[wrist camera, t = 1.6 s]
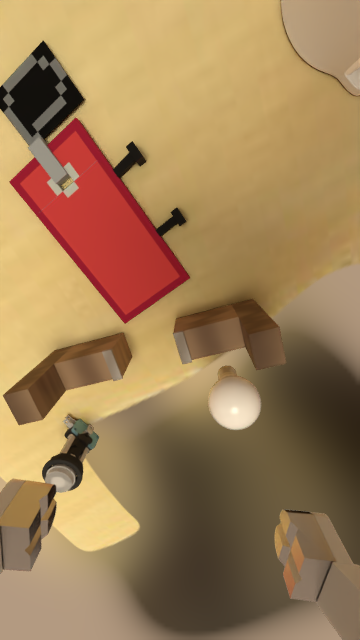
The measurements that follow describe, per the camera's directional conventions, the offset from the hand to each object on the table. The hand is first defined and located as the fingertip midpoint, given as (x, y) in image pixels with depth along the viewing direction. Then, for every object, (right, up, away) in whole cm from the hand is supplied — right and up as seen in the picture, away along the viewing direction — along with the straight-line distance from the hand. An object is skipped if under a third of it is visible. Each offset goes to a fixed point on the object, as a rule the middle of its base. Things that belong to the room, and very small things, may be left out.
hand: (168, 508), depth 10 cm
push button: (-16, -11, +36) cm, 40 cm away
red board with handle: (-10, +22, +26) cm, 35 cm away
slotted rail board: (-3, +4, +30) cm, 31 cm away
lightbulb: (+7, -1, +32) cm, 33 cm away
